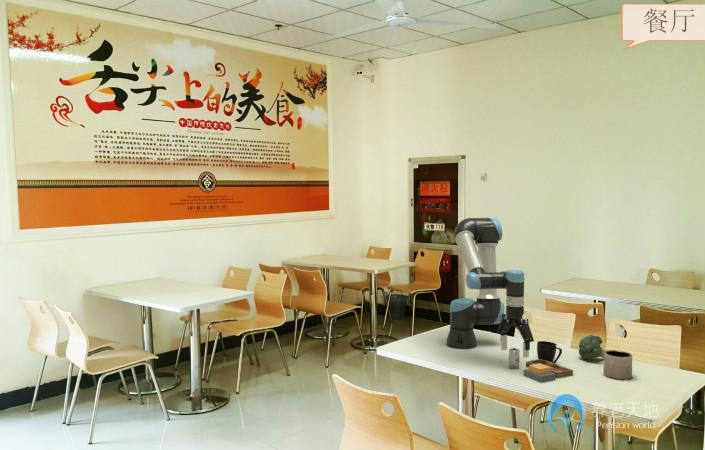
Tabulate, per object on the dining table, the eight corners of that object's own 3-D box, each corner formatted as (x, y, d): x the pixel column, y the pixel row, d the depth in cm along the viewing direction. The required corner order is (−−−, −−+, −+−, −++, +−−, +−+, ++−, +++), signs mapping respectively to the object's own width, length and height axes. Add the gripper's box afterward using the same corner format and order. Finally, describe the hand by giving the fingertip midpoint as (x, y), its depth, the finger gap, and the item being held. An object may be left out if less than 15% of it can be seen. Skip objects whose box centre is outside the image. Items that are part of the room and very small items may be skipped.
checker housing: (523, 375, 232) (523, 369, 232) (537, 372, 235) (537, 367, 235) (541, 382, 223) (541, 376, 223) (555, 379, 227) (555, 373, 226)
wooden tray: (525, 366, 244) (526, 361, 244) (541, 363, 248) (541, 358, 248) (557, 378, 228) (557, 373, 228) (572, 375, 232) (573, 370, 232)
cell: (506, 366, 244) (507, 347, 243) (514, 365, 246) (514, 346, 245) (513, 369, 240) (514, 350, 239) (521, 368, 242) (521, 349, 241)
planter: (597, 373, 234) (598, 351, 234) (616, 370, 239) (616, 348, 238) (618, 381, 224) (619, 358, 224) (637, 378, 229) (638, 355, 228)
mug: (553, 369, 241) (554, 347, 240) (532, 362, 251) (533, 341, 251) (565, 368, 245) (567, 346, 244) (544, 360, 255) (546, 340, 255)
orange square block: (528, 372, 231) (528, 365, 230) (539, 370, 233) (539, 363, 233) (539, 376, 225) (539, 369, 225) (550, 374, 228) (550, 367, 228)
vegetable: (618, 361, 245) (587, 346, 245) (600, 374, 254) (571, 359, 254) (617, 340, 254) (588, 325, 254) (600, 353, 263) (572, 339, 263)
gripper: (489, 301, 251) (489, 347, 251) (529, 311, 228) (528, 361, 229) (502, 300, 254) (501, 346, 255) (542, 309, 232) (542, 359, 232)
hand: (514, 353), depth 242 cm, fingers open, 13 cm apart
